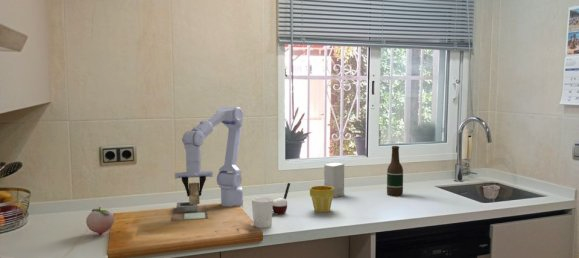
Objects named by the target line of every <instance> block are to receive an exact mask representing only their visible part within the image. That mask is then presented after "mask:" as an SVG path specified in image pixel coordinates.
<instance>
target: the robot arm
mask: <svg viewBox="0 0 579 258" xmlns="http://www.w3.org/2000/svg"><path fill="white" fill-rule="evenodd" d="M243 120H244V112H243V110H242V108H241V107H239V106H233V107H232V106H231V107H230V106H229V107H228V106H221V107H219V108H217V109H216V112H215V114H213V115H212V116H211V117H210V118H209V119H208V120H201V121H199V124H197V125H196V126H194V127H193V128H192V129H191V130H187V131H185V132H184V134H183V135H182V138H181V141H182V143H183V147H184V150H185V171H183V172H174V179H175V180H176V179H181V182H182V183H183V186H184V187H185V191H186V196H187V197H189V178H198V179H199V197H202V191H203V187H204V185H205V182H206V181H207V178H212V177H213V175H214V174H213V173H214V172H213V171H212V170H211V171H210V170H209V171H208V170H207V171H204V170H203V171H202V153H201V152H202V151H201V149H202V148H201V145H203V143H204V141H205V139H206V138H207V137H208V136H209V135H210V134H212V132H213V131H214V128H215V127H216V126H218V125H219V124H220V123H222V124H223V125H224V126H225V127H227V128H228V135H227V139H226V140H227V141H226V148H225V156H224V164H223V165H222V166H221V167H220V168H219V169H218V173H217V175H216V184H217V186H218V187H219V188H220V205H221V206H222V207H237V206H238V207H239V206H241V207H242V208H244V196H243V187H240V186H241V184H242V171H241V169H240V168H239V167H238V166H237V165H238V164H237V163H238V159H239V158H238V156H239V147H240V141H241V134H242V133H241V132H242V127H243Z"/></svg>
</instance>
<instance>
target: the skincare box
mask: <svg viewBox="0 0 579 258" xmlns="http://www.w3.org/2000/svg"><path fill="white" fill-rule="evenodd" d="M323 169H324V170H323V171H324V172H323V173H324V178H323V179H324V182H323V183H324V184H323V186H331V187H333V188H334V196H333V197H332V199H333V198H337V197H340V196H344V195H345V163H341V162H331V163H326V164H324V168H323Z"/></svg>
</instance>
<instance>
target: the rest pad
mask: <svg viewBox="0 0 579 258" xmlns="http://www.w3.org/2000/svg"><path fill="white" fill-rule="evenodd" d="M204 218H205V212H203V213H187V214H184V220H185V221H189V220H188V219H201V220H205V219H204Z"/></svg>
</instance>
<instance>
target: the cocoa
mask: <svg viewBox="0 0 579 258" xmlns="http://www.w3.org/2000/svg"><path fill="white" fill-rule="evenodd" d="M290 186H291V183H290V182H287V184H286V188H285V192H284V196H283V198H282V197H278V198H275V199H273V210H272V213H274V214H275V215H284V214H285V213H286V212H287V211H288V200H287V197H288V193H289V191H290Z"/></svg>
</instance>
